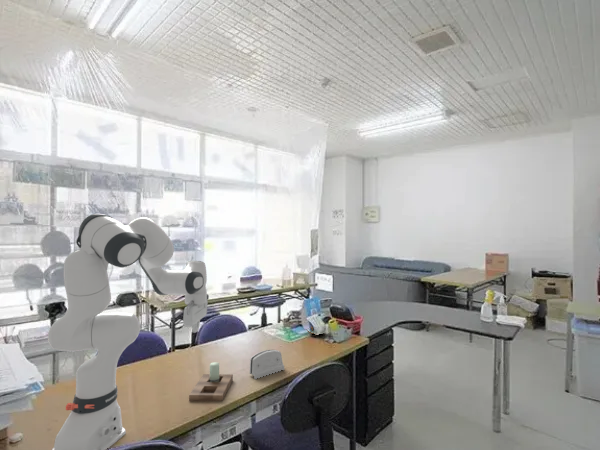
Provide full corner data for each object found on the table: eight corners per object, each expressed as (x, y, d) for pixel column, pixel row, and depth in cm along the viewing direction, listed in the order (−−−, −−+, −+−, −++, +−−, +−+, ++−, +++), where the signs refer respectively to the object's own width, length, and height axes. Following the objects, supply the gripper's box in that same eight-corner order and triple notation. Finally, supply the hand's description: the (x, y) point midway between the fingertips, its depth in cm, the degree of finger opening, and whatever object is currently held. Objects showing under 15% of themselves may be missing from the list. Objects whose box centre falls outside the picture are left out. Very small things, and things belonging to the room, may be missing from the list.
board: (222, 401, 130) (222, 395, 130) (189, 401, 130) (189, 395, 130) (232, 380, 148) (232, 374, 148) (203, 379, 148) (203, 374, 148)
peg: (218, 387, 141) (218, 366, 141) (208, 387, 141) (208, 366, 141) (220, 382, 145) (220, 362, 145) (210, 382, 145) (210, 362, 145)
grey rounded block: (254, 379, 148) (253, 356, 149) (249, 376, 152) (247, 354, 153) (285, 369, 158) (283, 348, 159) (279, 367, 162) (278, 346, 163)
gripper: (195, 303, 131) (194, 339, 131) (209, 294, 151) (209, 325, 151) (179, 303, 131) (178, 339, 131) (196, 294, 151) (196, 325, 151)
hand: (195, 331), depth 141 cm, fingers closed
